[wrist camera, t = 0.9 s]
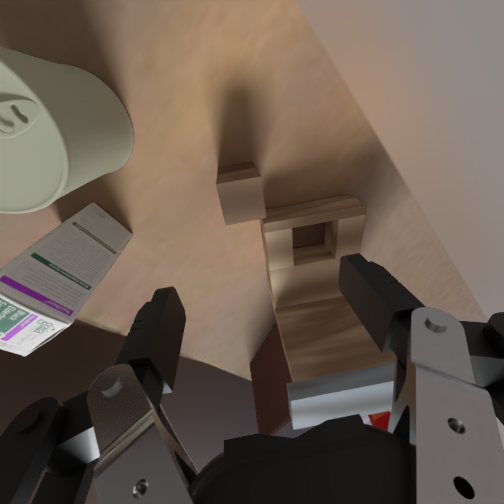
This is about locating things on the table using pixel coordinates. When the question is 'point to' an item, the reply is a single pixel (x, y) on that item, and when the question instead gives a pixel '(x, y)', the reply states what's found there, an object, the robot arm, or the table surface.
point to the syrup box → (57, 278)
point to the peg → (240, 193)
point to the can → (55, 131)
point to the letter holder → (271, 385)
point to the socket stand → (323, 315)
